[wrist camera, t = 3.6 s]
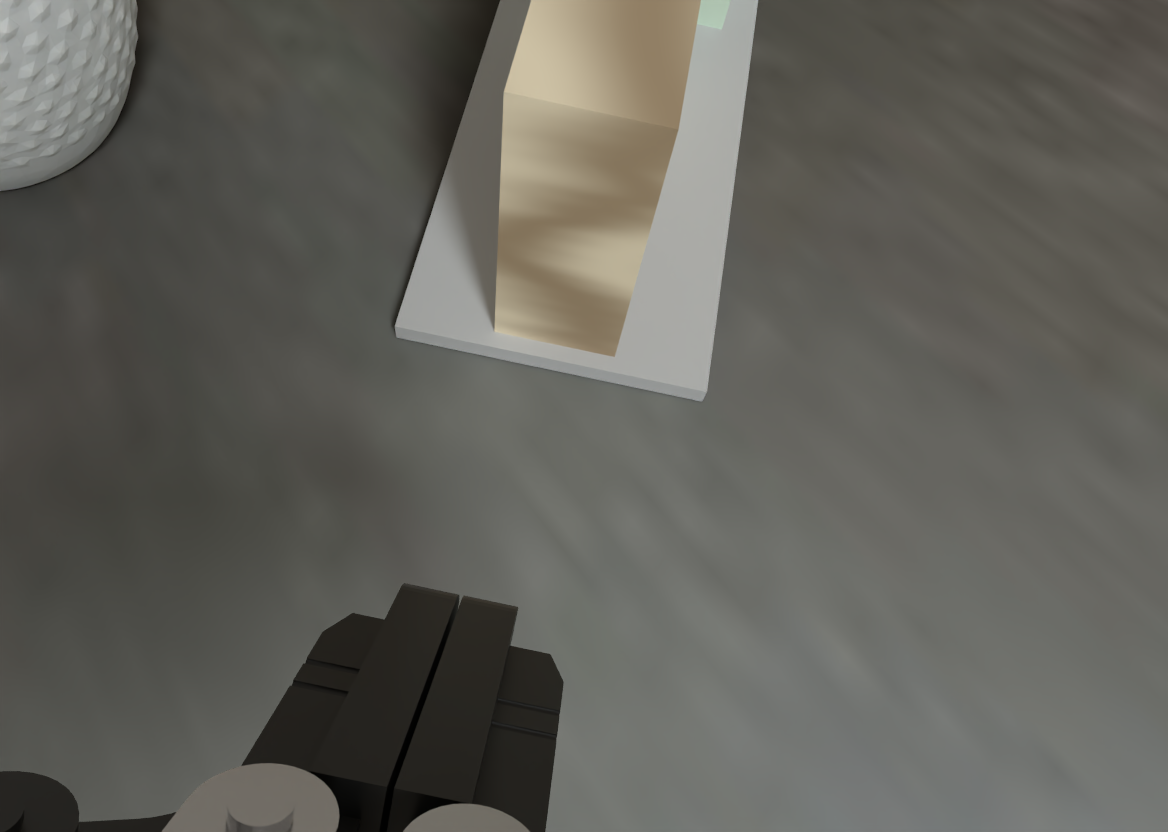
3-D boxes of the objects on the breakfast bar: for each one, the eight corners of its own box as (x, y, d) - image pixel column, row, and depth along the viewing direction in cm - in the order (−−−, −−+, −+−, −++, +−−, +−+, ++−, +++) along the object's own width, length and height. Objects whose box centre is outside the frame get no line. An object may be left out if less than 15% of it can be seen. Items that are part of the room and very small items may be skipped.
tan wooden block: (494, 331, 26) (503, 91, 18) (570, 41, 31) (604, -244, 23) (614, 357, 26) (678, 129, 18) (669, 62, 31) (738, -214, 23)
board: (396, 337, 26) (394, 326, 25) (544, -126, 36) (545, -141, 35) (701, 401, 26) (706, 391, 26) (765, -77, 36) (770, -92, 35)
